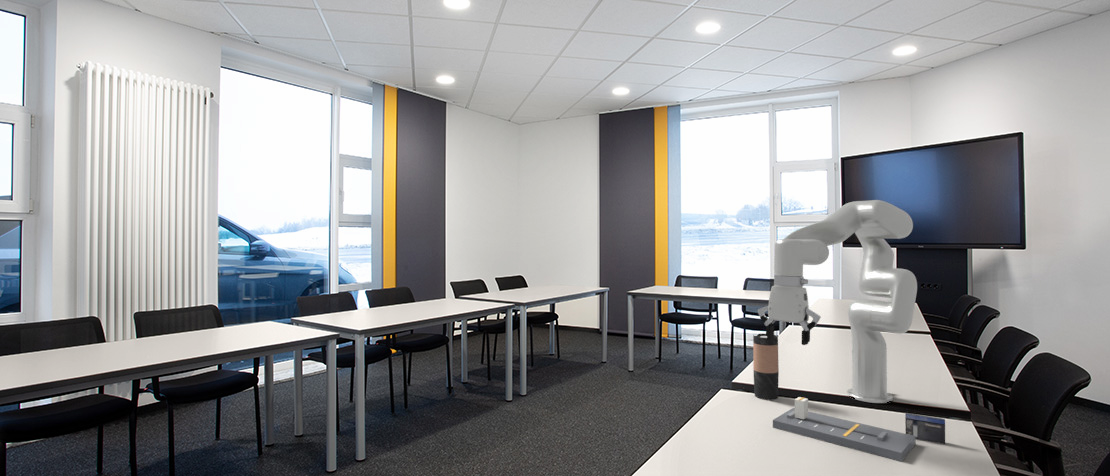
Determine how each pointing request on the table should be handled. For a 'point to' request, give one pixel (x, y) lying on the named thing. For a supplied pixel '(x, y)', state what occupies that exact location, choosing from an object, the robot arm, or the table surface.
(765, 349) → the travel mug
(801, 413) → the fader
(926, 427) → the mini dv tape
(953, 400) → the table surface
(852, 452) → the table surface
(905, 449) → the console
